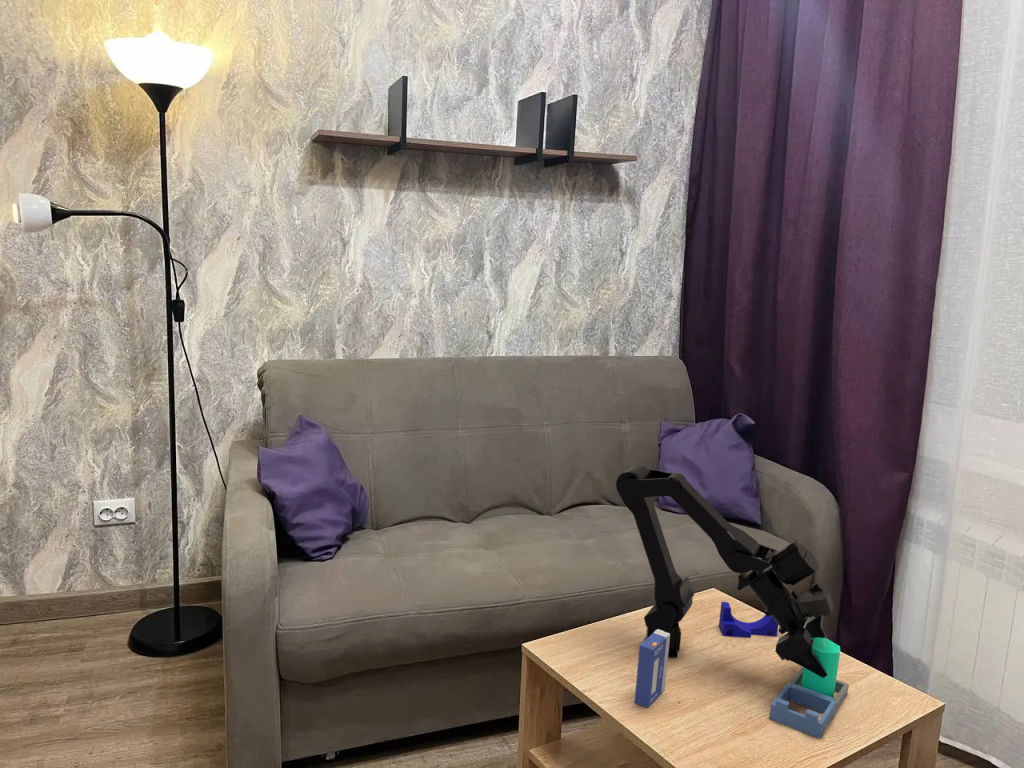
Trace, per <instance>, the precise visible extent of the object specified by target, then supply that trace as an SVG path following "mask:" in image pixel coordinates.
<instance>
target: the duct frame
mask: <svg viewBox="0 0 1024 768" xmlns="http://www.w3.org/2000/svg"><path fill="white" fill-rule="evenodd" d="M803 669H804V667H801V668H800V669H798V672H797V673H796V674H795V676H794V677H793V678H792V679H791V681H790V682H789V683H786V684H785V685H784V686H783V688H782V689H781V691H780V692H779V693H778V695H776V697H775V699H774V700H773V701H772V702H771V703H770V708H769V716H768V718H769V719H770V720H773V721H774V722H777V723H779V724H783V725H784V726H788V727H789V728H792V729H795V730H797V731H800V732H801V733H805V734H808V735H810V736H812V737H815V738H817V739H821V737H822V736H823V734H824V733H825V731H826V729H827V728H828V726H829V725H828V724H830V723H831V721H832V720H833V718H834V717H835V715H836V713H837V712H836V711H838V710H839V708H840V706H841V705H842V703H843V701H844V700H845V698H846V697H847V695H848V691H849V686H850V685H849V683H846V682H843V681H842V680H838V679H836V684H835V691H834V692H837V695H836V697H835V698H832V697H830V696H827V695H824V694H821V693H819V692H816V691H813V690H811V689H808V688H805V687H802V686H801V683H802V676H803ZM789 701H790V702H793V703H796V704H798V705H800V706H804V707H805V706H806V707H805V708H807V709H806V711H805V713H804V714H802V713H800V712H797V711H795V710H792V709H790V702H789ZM813 710H814V711H813ZM820 713H822V716H821V717H820V719H819V716H820Z"/></svg>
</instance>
